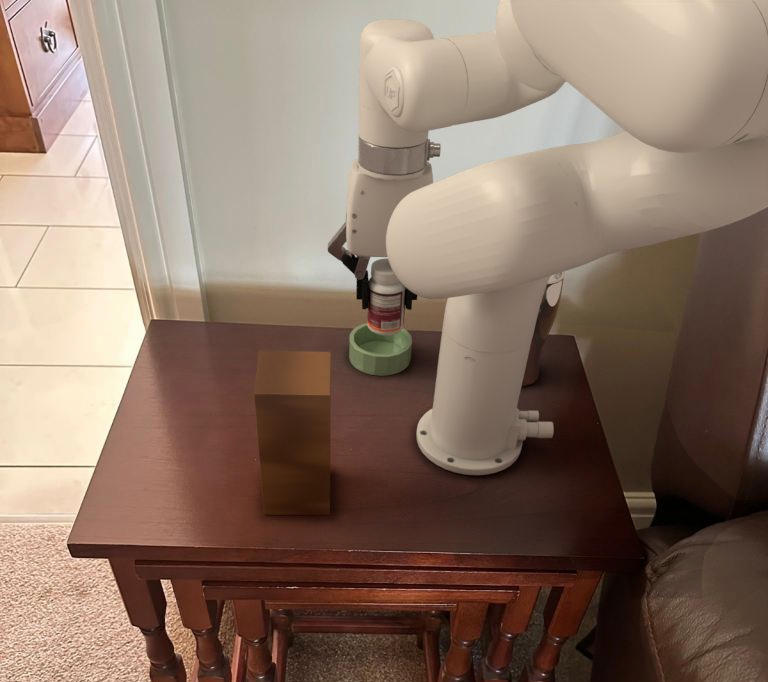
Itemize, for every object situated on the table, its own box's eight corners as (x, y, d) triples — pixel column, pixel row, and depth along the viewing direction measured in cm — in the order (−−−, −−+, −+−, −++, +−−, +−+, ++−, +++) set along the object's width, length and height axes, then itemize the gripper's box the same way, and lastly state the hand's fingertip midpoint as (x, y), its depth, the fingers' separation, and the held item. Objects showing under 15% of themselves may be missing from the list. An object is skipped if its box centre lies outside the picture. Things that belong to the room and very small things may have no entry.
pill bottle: (376, 313, 102) (378, 253, 96) (409, 323, 101) (413, 262, 95) (360, 330, 99) (361, 269, 93) (394, 340, 98) (397, 278, 92)
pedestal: (330, 471, 88) (330, 351, 77) (329, 515, 83) (330, 394, 72) (268, 470, 88) (259, 350, 76) (264, 515, 83) (253, 393, 71)
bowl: (408, 341, 107) (409, 322, 105) (412, 376, 102) (414, 357, 99) (348, 339, 107) (349, 320, 105) (349, 375, 101) (349, 355, 99)
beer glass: (540, 392, 100) (565, 288, 90) (486, 384, 101) (505, 279, 90) (543, 362, 105) (567, 259, 95) (492, 354, 106) (510, 251, 95)
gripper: (465, 143, 88) (450, 290, 101) (315, 140, 87) (319, 288, 100) (473, 168, 83) (456, 320, 95) (314, 165, 82) (318, 319, 94)
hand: (386, 302), depth 97 cm, fingers closed on pill bottle, 4 cm apart
